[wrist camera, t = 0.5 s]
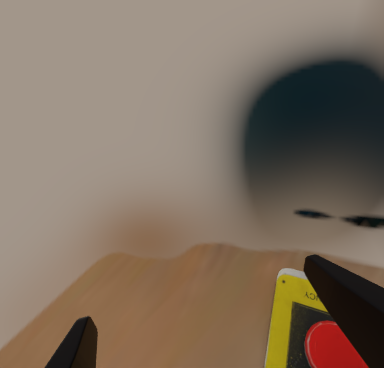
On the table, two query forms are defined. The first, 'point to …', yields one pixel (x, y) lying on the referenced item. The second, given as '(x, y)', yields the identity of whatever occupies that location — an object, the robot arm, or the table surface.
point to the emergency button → (305, 329)
